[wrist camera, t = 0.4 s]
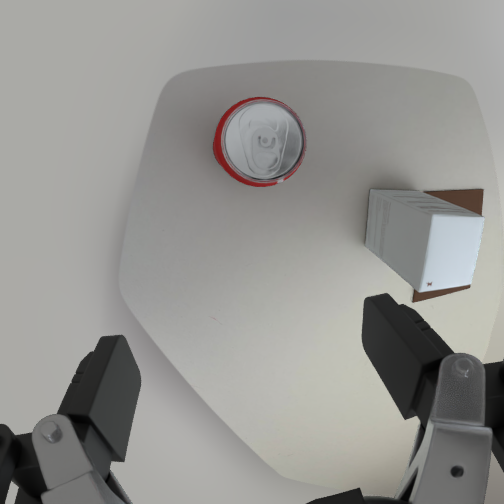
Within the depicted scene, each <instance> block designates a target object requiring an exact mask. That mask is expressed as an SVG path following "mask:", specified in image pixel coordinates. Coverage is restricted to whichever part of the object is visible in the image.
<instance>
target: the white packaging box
mask: <svg viewBox="0 0 504 504" xmlns="http://www.w3.org/2000/svg"><path fill="white" fill-rule="evenodd" d="M484 220H485V217H483V216H481V215H479V214H477V213H474V212H472V211H469V210H467V209H464V208H462V207H459V206H457V205H454V204H452V203H449V202H447V201H444V200H442V199H439V198H437V197H434V196H431V195H429V194H426V193H423V192H421V191H409V190H383V189H370V194H369V207H368V219H367V230H366V240H365V247H367V248H368V249H369V250H370V251H372V252H373V253H374V254H375V255H376V256H377V257H379V258H380V259H381V260H382V261H383V262H385V263H386V264H387V265H388V266H389V267H390V268H392V269H393V270H394V271H395V272H396V273H397V274H398V275H400V276H401V277H402V278H403V279H404V280H405V281H406V282H408V283H409V284H410V285H411V286H412V287H413V288H414V289H415V290H416V291H418V292H419V293H420V292H426V291H433V290H439V289H446V288H453V287H459V286H465V285H470V284H471V282H472V278H473V274H474V270H475V265H476V261H477V256H478V252H479V247H480V242H481V237H482V231H483V226H484Z"/></svg>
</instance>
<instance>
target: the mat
mask: <svg viewBox="0 0 504 504" xmlns="http://www.w3.org/2000/svg"><path fill="white" fill-rule="evenodd" d="M423 193H426V194H429V195H431V196H434V197H437V198H439V199H442V200H444V201H447V202H449V203H452V204H454V205H457V206H459V207H462V208H464V209H467V210H469V211H472V212H474V213H477V214H479V215H482V204H483V189H475V190H451V191H431V192H423ZM470 285H471V284H470ZM470 285H465V286H459V287H453V288H446V289H439V290H433V291H426V292H420V293H419V292H418V291H416V290H415V289H414V295H413V303H414V302H418V301H422V300H426V299H430V298H434V297H438V296H442V295H446V294H449V293H453V292H457V291H460V290H464V289H468V288H470Z"/></svg>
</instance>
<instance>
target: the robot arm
mask: <svg viewBox="0 0 504 504" xmlns="http://www.w3.org/2000/svg"><path fill="white" fill-rule="evenodd" d="M362 343H363V347H364V350H365V352H366V354H367V356H368V357H369V359H370V361H371V362H372V364H373V366H374V367H375V369H376V371H377V373H378V374H379V376H380V378H381V379H382V381H383V383H384V384H385V386H386V388H387V390H388V391H389V393H390V395H391V397H392V398H393V400H394V402H395V404H396V405H397V407H398V409H399V411H400V412H401V414H402V416H403V418H404V419H405V420H406V419H409V418H412V417H414V416H418V418H419V420H420V423H419V425H418V429H417V432H416V436H415V440H414V444H413V447H412V451H411V454H410V457H409V461H408V464H407V467H406V470H405V473H404V476H403V478H402V480H401V483H400V485H399V487H398V489H397V492H396V494H395V496H394V498H390V497H382V496H365V497H363V495H362V492H361V490H360V488H357V489H353V490H350V491H346V492H343V493H339V494H335V495H332V496H327V497H324V498H319V499H315V500H313V501H311V502H309V503H307V504H484V500H485V494H486V488H487V482H488V475H489V468H490V459H491V450H492V452H493V454H494V456H495V457H496V459H497V461H498V463H499V464H500V466H501V468H502V470H503V472H504V359H503V361H501V362H495V363H488V364H482V363H481V361H480V360H478V359H477V358H476V357H474V356H472V355H469V354H466V353H454V352H453V351H452V350H451V348H450V347H449V346H448V345H447V344H446V343H445V342H444V341H443V340H442V338H441V337H440V336H439V335H438V334H437V333H436V332H435V331H434V330H433V329H432V328H430V325H429V324H428V323H427V322H426V321H424V319H423V318H422V317H421V316H420V315H419V314H418V313H417V312H416V310H414V309H412V308H410V307H408V306H406V305H404V304H401V305H398V304H397V303H396V301H395V300H394V299H393V298H392V297H391V296H390V295H389V294H388V293H384V294H380V295H375V296H371V297H367V298H365V300H364V308H363V324H362ZM140 387H141V376H140V371H139V368H138V366H137V364H136V362H135V359H134V357H133V354H132V352H131V350H130V347H129V345H128V343H127V340H126V338H125V337H124V336H123V335H114V336H103V337H101V338H100V340H99V342H98V344H97V346H96V348H95V350H94V352H90V353H89V354H88V355H87V356H86V357H85V358H84V359H83V360H82V361H81V362H80V364H79V366H78V368H77V370H76V374H75V375H74V377H73V379H72V383H70V385H69V387H68V389H67V392H66V394H65V396H64V398H63V401H62V403H61V405H60V407H59V410H58V412H57V414H53V415H49V416H46V417H45V418H43V419H41V420H40V421H39V422H38V423H37V424H36V426H35V427H34V429H33V432H32V433H27V434H21V435H14V433H13V432H12V431H11V430H10V429H9V427H8V426H6V425H4V424H0V504H5V500H6V497H7V493H8V490H9V486H10V483H11V481H12V482H14V483H15V484H16V485H17V486H18V487H19V489H18V493H17V496H16V500H15V504H133V503H132V502H131V500H130V499H129V497H128V496H127V494H126V493H125V491H124V490H123V488H122V487H121V485H120V484H119V482H118V480H117V479H116V477H115V476H114V474H113V473H112V471H111V470H110V465H111V461H115V462H116V461H117V462H124V461H125V456H126V451H127V446H128V441H129V436H130V431H131V427H132V422H133V418H134V413H135V409H136V404H137V400H138V396H139V392H140Z"/></svg>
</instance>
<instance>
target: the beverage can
mask: <svg viewBox="0 0 504 504" xmlns="http://www.w3.org/2000/svg"><path fill="white" fill-rule="evenodd" d="M213 151H214V155H215V158H216V160H217V161H218V163H219V164H220V165H221V166H222V167H223V169H224V170H225V171H226V172H227V173H228V174H229V175H230V176H231V177H233V178H234V179H236V180H237V181H239V182H241V183H244V184H246V185H250V186H255V187H266V186H272V185H275V184H278V183H280V182H283V181H284V180H286V179H287V178H289V177H290V176H291V175H292V174H293V173H294V172H295V171H296V170H297V169H298V167H299V166H300V164H301V162H302V160H303V158H304V155H305V151H306V133H305V129H304V127H303V124H302V122H301V120H300V119H299V117H298V116H297V115H296V113H295V112H294V111H293V110H292V109H291V108H289V107H288V106H287V105H285V104H284V103H282V102H280V101H278V100H275V99H271V98H266V97H255V98H249V99H246V100H243V101H240V102H238V103H237V104H235V105H233V106H232V107H231V108H230V109H229V110H228V111H226V113H225V114H224V115H223V117H222V118H221V119H220V122H219V124H218V126H217V129H216V133H215V137H214V142H213Z"/></svg>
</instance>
